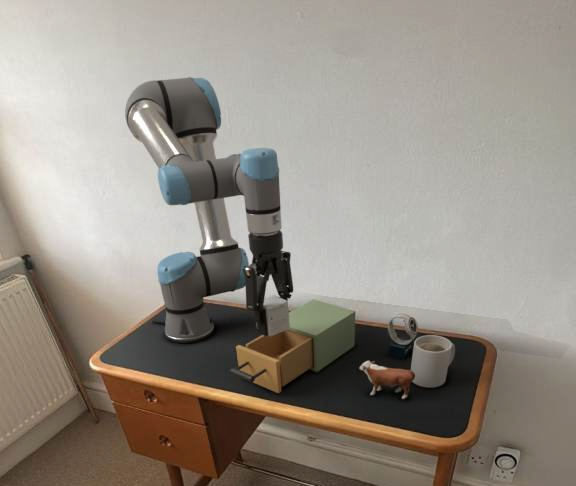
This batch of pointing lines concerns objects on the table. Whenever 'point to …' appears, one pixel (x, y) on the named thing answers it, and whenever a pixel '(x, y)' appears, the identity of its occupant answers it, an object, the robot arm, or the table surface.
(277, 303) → the product box
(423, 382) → the mug
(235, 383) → the table surface
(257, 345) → the drawer
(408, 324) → the watch
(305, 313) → the cabinet
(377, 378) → the bull figurine
